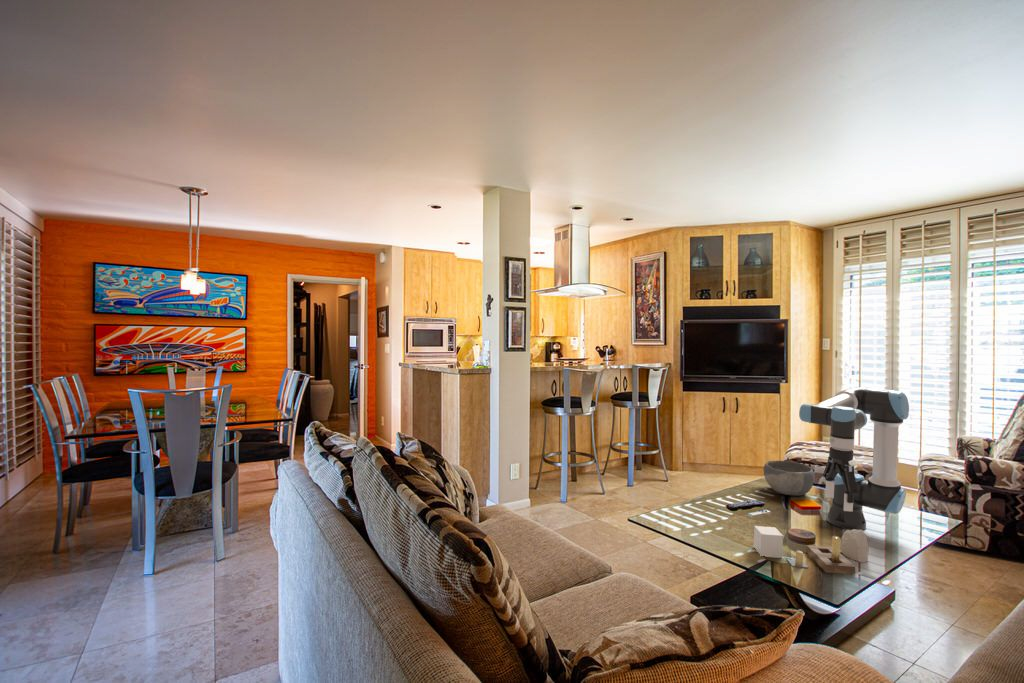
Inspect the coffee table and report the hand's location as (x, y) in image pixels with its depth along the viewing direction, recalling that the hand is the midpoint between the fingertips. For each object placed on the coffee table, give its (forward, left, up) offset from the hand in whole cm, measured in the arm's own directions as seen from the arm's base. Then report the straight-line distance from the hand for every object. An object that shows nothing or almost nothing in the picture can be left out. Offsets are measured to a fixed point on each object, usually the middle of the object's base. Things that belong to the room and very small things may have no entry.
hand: (838, 504), depth 188 cm
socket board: (0, -4, -25) cm, 25 cm away
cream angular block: (+13, -1, -25) cm, 28 cm away
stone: (-12, -11, -25) cm, 30 cm away
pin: (0, 0, -25) cm, 25 cm away
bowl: (-17, -87, -25) cm, 92 cm away
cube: (+21, -9, -25) cm, 34 cm away
